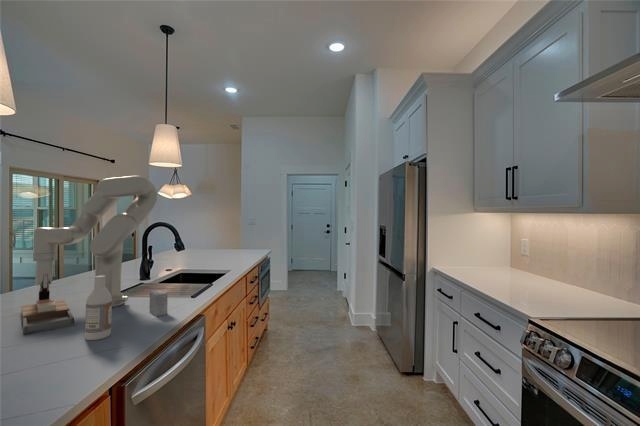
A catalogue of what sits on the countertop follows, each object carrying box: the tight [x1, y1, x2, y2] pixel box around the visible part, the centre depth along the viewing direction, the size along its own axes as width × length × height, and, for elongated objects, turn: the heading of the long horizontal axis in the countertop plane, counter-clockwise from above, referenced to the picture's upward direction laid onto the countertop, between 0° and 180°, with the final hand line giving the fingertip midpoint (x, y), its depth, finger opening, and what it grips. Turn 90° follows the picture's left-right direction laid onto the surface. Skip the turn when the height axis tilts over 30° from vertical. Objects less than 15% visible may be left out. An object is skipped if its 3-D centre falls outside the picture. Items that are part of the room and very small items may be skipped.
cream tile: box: [37, 302, 56, 313], centre depth 117 cm, size 5×5×2 cm
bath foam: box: [84, 275, 113, 341], centre depth 100 cm, size 7×7×20 cm
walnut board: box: [21, 299, 71, 324], centre depth 119 cm, size 16×13×3 cm
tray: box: [22, 310, 75, 335], centre depth 109 cm, size 12×13×2 cm
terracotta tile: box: [35, 298, 55, 307], centre depth 121 cm, size 5×5×2 cm
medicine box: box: [148, 289, 169, 317], centre depth 125 cm, size 8×4×9 cm, turn 47°
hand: (44, 300), depth 126 cm, fingers closed
